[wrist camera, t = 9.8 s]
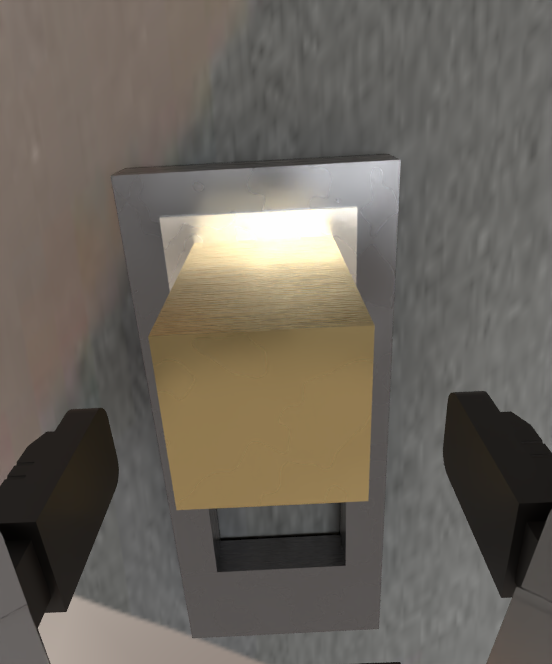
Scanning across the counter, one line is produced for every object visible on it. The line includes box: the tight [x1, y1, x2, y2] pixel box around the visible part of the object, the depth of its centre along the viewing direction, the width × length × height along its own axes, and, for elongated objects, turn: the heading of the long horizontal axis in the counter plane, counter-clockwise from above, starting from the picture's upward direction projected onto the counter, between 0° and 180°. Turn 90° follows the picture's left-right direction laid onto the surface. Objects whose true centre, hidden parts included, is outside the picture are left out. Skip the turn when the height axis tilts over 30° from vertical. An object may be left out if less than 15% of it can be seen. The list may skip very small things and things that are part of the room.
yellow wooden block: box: [148, 236, 375, 510], centre depth 16 cm, size 5×5×8 cm
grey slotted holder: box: [111, 154, 401, 638], centre depth 24 cm, size 24×10×2 cm, turn 3°
